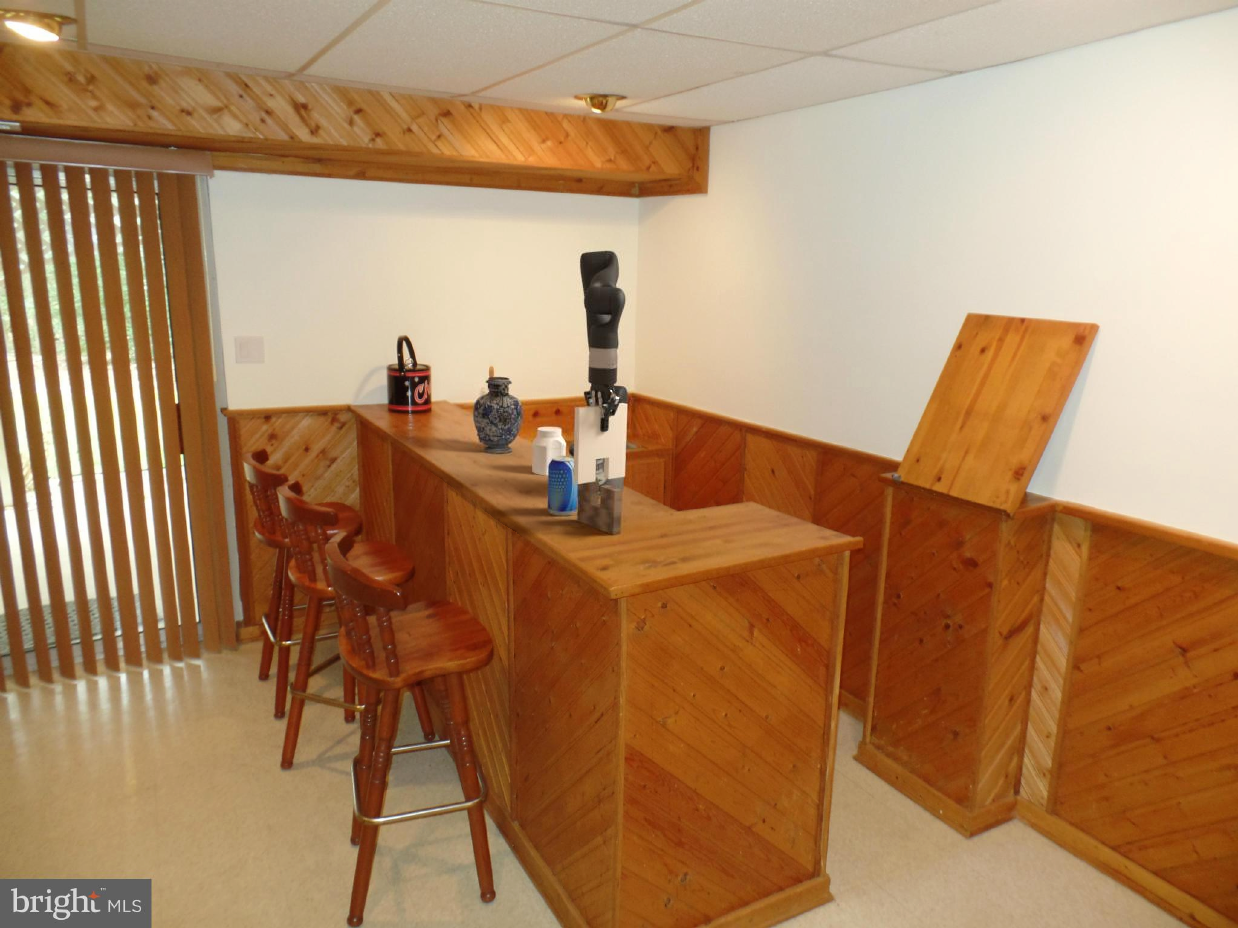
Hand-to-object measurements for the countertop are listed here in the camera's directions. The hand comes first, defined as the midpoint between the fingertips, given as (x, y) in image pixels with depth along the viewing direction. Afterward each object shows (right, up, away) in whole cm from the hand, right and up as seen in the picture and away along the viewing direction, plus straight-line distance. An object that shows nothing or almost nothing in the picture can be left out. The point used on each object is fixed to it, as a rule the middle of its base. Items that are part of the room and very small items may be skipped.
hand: (601, 430), depth 225 cm
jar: (-19, -12, +67) cm, 71 cm away
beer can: (-12, -23, +19) cm, 32 cm away
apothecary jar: (-5, -19, +39) cm, 43 cm away
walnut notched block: (-1, -26, +6) cm, 27 cm away
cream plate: (-1, -13, +3) cm, 13 cm away
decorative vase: (-41, -4, +98) cm, 106 cm away
